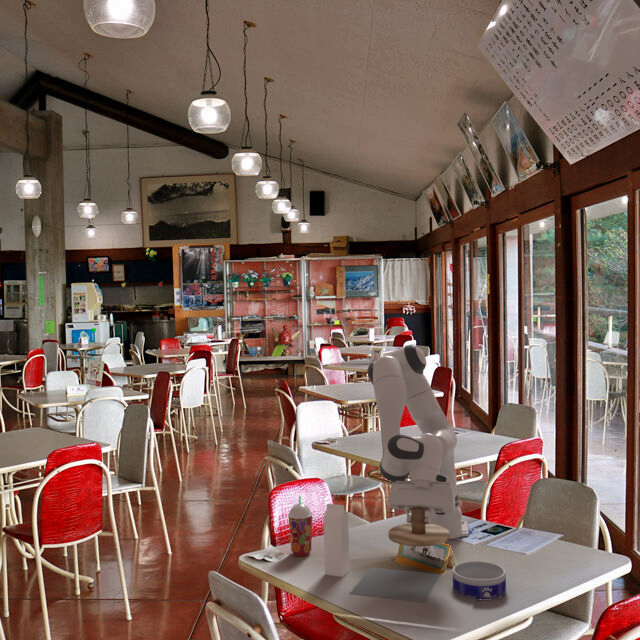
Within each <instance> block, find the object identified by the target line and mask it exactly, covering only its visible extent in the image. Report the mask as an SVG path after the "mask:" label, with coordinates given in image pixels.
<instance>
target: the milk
mask: <svg viewBox="0 0 640 640" xmlns="http://www.w3.org/2000/svg"><path fill="white" fill-rule="evenodd" d="M322 517H323V518H322V520H323V542H324V543H323V547H324V550H323V551H324V575H326V576H332V577H339V578H343V577H344V576H345V575H346V574H347V573H348V572H350V568H351V566H350V542H349V541H350V540H349V538H350V536H349V513H348V512H347V511H346V510H345V505H344V504H333V503H326V510H325V512H324V513H323V516H322Z"/></svg>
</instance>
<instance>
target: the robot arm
mask: <svg viewBox="0 0 640 640" xmlns="http://www.w3.org/2000/svg"><path fill="white" fill-rule="evenodd" d="M426 366H427V359H426V355H425V353H424V351H423V350H422V348H421V347H420V346H419V345H417V344H414V343H412V344H407V345H404V346H403V347H401V348H398V349H395V350H393V351H390V352H389V353H387V354H385V355H383V356H380V357H378V358H377V359H376V360H374V361H372V362H371V363H370V364H369V365H368V367H367V371H366V372H367V377H368V379H369V381H370V383H371V384H372V386H373V391H374V392H373V393H374V398H375V403H376V406H377V412H378V418H379V423H380V425H379V426H380V435H381V444H382V446H381V447H382V458H381V460H380V463H379V467H378V468H379V472H380V474H381V476H383V478H384V479H386V480H387V481H389V482H392V483H391V484H390V487H389V488H390V489H389V490H390V491H389V494H388V498H387V504H388V506H389V508H390V509H391V510H397V511H398V510H399V511H404V512H405V514H406V524H412V518H411V508H413V507H422V508H425V520H424V523H425V524H434V525H438V526H442V527H444V528H446V529H447V530H449V533H450V538H449V540H453V539H458V538H461V537H469V536H470V535H469V529H468V528H469V527H468V521H466V520H463V513H462V510H461V508H460V506H459V503H460V501H459V496H458V491H457V472H456V466H455V465H456V464H455V453H454V452H455V451H454V450H455V448H456V446H457V443H458V438H457V434H456V432H455V430H454V429H453V426H452V425H451V422H450V421H449V419H448V418H447V416H446V414H445V413H444V411H443V409H442V407H441V406H440V404H439V402H438V400H437V398H436V395H435V393H434V391H433V388H432V387H431V385H430V383H429V380H428V379H427V377H426V376H425V375H424V370H425V369H426ZM406 407H407V408H406ZM405 408H406V409H407V410H408V412H409V414H410V416H411V420H412V421H414V423H415V424H416V425H417V427H418V429H419V431H420V432H421V434H419V435H413V436H412V435H411V436H408V435H406V434H401V429H400V428H401V421H402V417H403V413H404V410H405ZM409 477H410V479H409V480H407V479H408V478H409Z"/></svg>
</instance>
